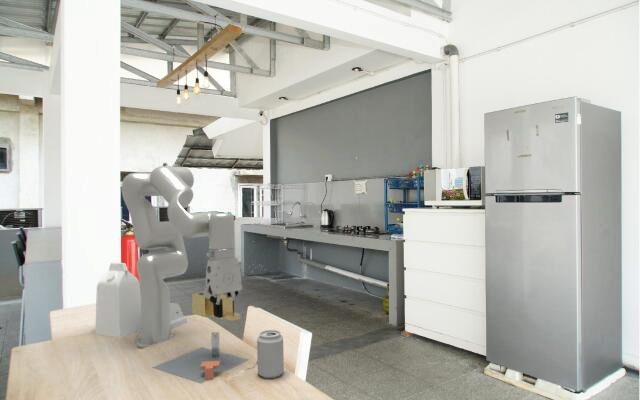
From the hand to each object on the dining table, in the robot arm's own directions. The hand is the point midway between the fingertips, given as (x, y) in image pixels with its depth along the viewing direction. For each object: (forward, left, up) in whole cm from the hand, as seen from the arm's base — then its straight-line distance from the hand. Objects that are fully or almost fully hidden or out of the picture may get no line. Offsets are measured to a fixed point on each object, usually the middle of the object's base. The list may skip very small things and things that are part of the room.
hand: (223, 314), depth 131 cm
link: (-3, 0, -1) cm, 3 cm away
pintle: (-6, +2, -16) cm, 17 cm away
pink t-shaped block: (+3, -9, -16) cm, 18 cm away
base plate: (-5, -5, -16) cm, 17 cm away
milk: (-59, +4, -16) cm, 61 cm away
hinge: (-48, +16, -16) cm, 53 cm away
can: (+15, +3, -16) cm, 22 cm away
